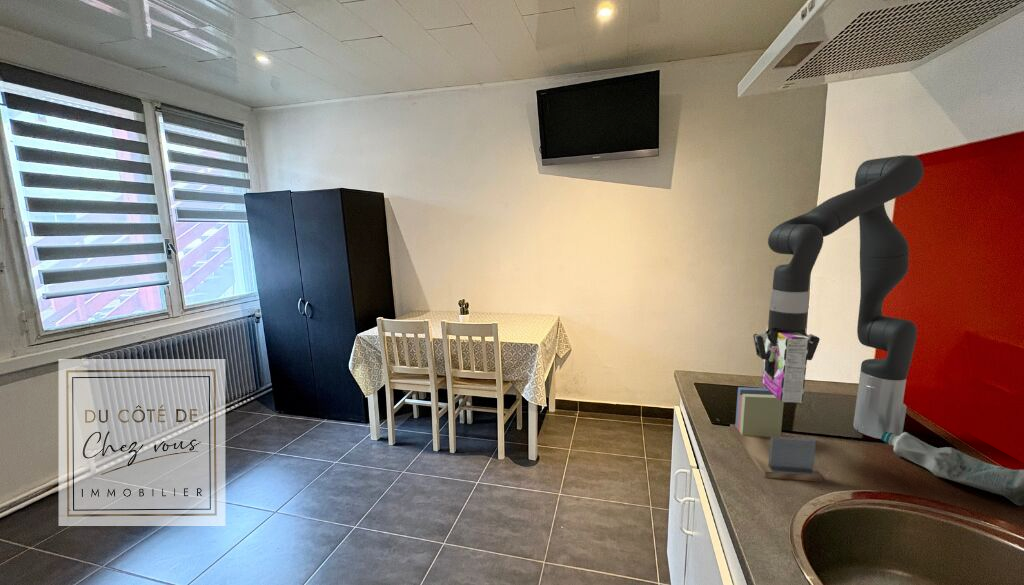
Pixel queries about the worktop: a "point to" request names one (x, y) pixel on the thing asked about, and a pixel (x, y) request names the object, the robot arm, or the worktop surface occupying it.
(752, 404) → the row of books
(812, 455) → the bookend
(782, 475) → the shelf board
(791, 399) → the candy bar box
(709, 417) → the worktop surface
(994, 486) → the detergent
